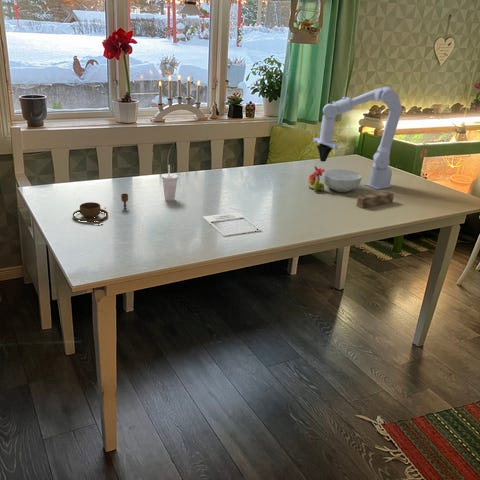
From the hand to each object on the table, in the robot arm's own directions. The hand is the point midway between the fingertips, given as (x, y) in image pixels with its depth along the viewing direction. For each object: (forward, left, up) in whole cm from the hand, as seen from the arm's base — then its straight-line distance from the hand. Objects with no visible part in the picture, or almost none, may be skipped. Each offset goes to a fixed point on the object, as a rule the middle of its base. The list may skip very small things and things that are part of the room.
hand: (323, 161), depth 233 cm
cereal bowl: (0, +14, -10) cm, 17 cm away
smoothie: (+76, -2, -10) cm, 77 cm away
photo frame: (+67, +30, -10) cm, 74 cm away
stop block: (0, +35, -9) cm, 36 cm away
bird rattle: (+12, +10, -10) cm, 18 cm away
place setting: (+105, +5, -10) cm, 106 cm away
